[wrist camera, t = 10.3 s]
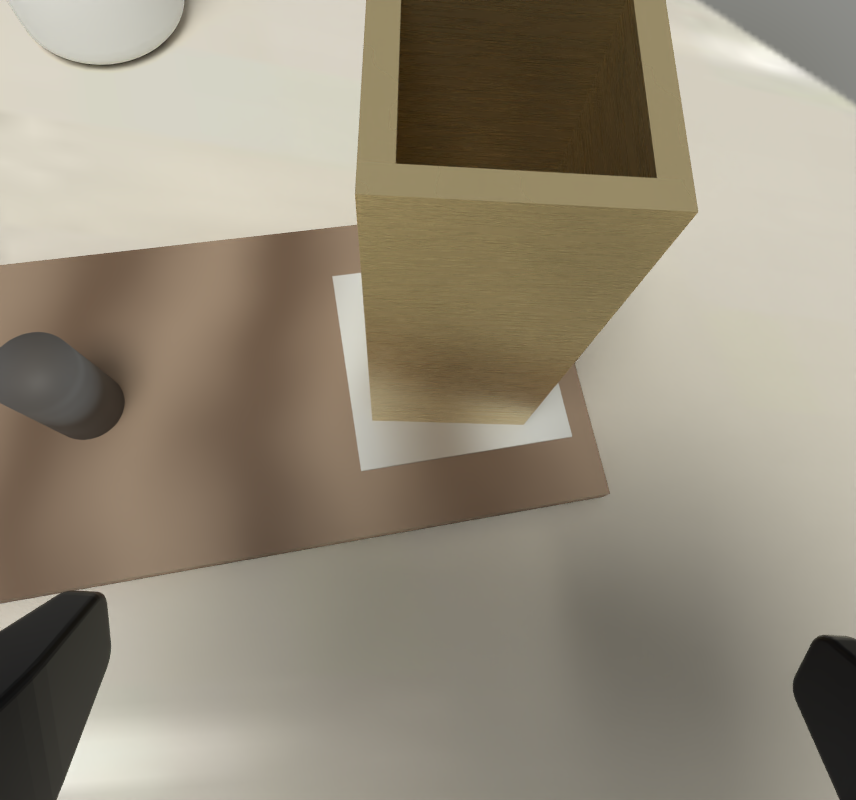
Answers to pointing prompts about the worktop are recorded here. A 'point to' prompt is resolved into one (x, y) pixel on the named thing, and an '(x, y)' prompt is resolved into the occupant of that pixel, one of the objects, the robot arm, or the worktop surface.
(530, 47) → the sleeve
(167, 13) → the water bottle
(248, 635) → the worktop surface
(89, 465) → the shaft board
